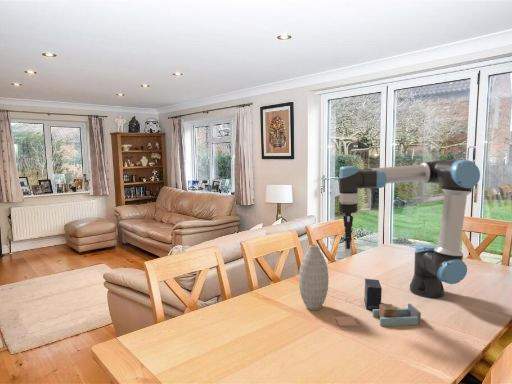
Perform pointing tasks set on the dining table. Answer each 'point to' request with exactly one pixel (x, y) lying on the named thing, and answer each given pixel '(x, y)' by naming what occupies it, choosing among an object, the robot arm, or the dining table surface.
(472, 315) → the dining table surface
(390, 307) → the block
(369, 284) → the small box
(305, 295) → the vase
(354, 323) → the tile
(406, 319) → the channel
